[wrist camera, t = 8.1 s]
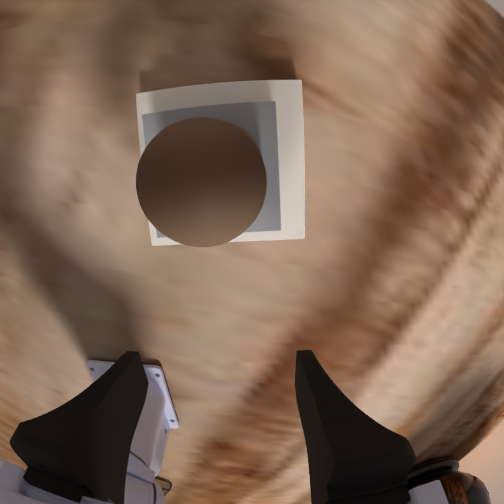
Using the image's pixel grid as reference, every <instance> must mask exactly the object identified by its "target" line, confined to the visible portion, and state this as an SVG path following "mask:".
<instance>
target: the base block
mask: <svg viewBox="0 0 504 504" xmlns="http://www.w3.org/2000/svg"><path fill="white" fill-rule="evenodd" d="M263 101H276V119H277V138H278V159H279V183H280V210H281V231H262V232H243V233H242V234H241V235H239V236H238V237H236V238H235V239H233V240H231V241H229V242H241V241H263V240H287V239H305V162H304V124H303V98H302V80H255V81H235V82H221V83H210V84H200V85H191V86H183V87H175V88H168V89H161V90H155V91H149V92H143V93H138V94H136V104H137V120H138V133H139V145H140V155H141V156H142V154H143V152H144V150H145V140H144V130H143V118H142V115H143V114H149V113H155V112H161V111H168V110H175V109H182V108H190V107H199V106H208V105H218V104H230V103H244V102H263ZM148 221H149V220H148ZM149 228H150V234H151V240H152V246H158V245H178V244H180V243H178V242H175V241H173V240H171V239H170V238H168V237H162V238H157V233H156V228H155V227H154V226H153V225H152V224H151V222H150V221H149Z"/></svg>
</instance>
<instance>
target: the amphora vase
mask: <svg viewBox="0 0 504 504" xmlns="http://www.w3.org/2000/svg"><path fill="white" fill-rule="evenodd" d="M458 468H459V462H458V460H457V459H455V458H452V457H443V458H438V459H433V460H431V461H428V462H424V463H422V464H420V465H417V466H415V467H413V468H411V470H410V471H409V473H408V474H407V475H406V476H407V479H408V485H406V486H407V489H408V491H409V490H411V489H413V488H415V487H418V486H421V485H424V484H427V483H430V482H433V481H436V480H440V482H441V485H442V487H443V490H444V493H445V495H446V498H447V501H448V504H491V503H490V498H489V493H488V491H487V489H486V487H485V485H484V483H483V482H482V481H481V480H480V479H479V478H477V477H475V476H473V475H471V474H468V473H464V472H460V471H458Z"/></svg>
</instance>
